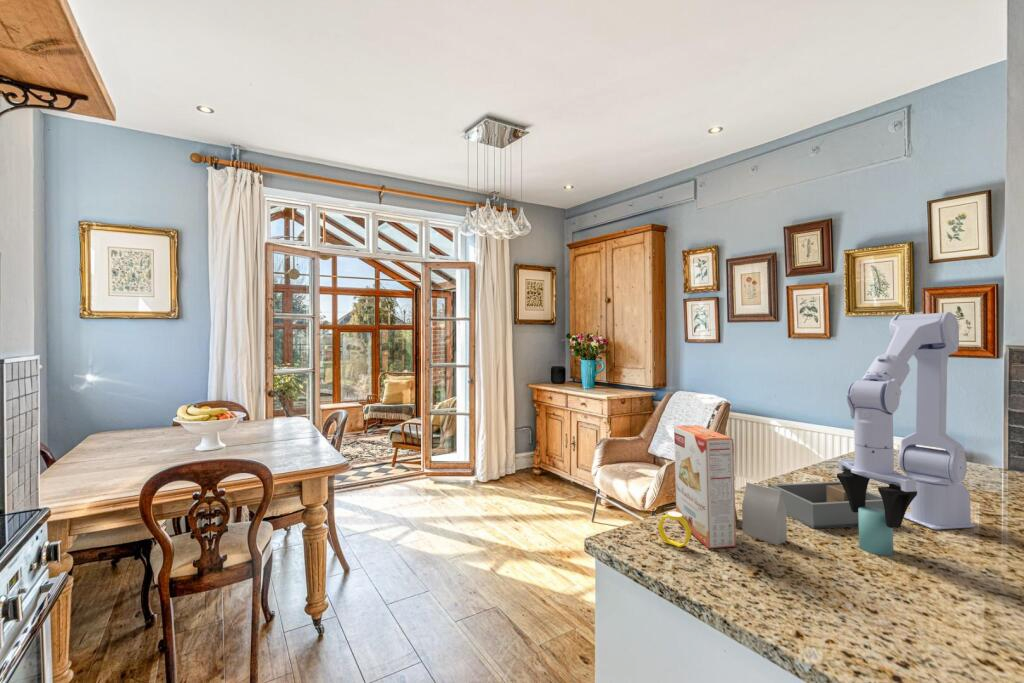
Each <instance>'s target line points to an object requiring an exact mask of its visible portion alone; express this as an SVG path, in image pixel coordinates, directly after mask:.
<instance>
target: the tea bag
mask: <svg viewBox="0 0 1024 683" xmlns="http://www.w3.org/2000/svg"><path fill="white" fill-rule="evenodd" d="M745 484H746V485H745V490H744V494H743V498H742V503H741V505H742V506H741V507H742V508H741V511H742V514H741V516H742V534H743V535H746V536H749V537H751V538H754V539H757V540H760V541H764V542H766V543H770V544H772V545H775V546H778V545H780V544H783V543H784V542H787V541H788V535H787V532H788V531H787V529H788V527H787V515H786V508H785V504H784V501H783V496H782V491H781V490H777V489H773V488H770V487H768V486H763V485H760V484H757V483H751V482H746V483H745Z"/></svg>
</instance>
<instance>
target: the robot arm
mask: <svg viewBox="0 0 1024 683" xmlns="http://www.w3.org/2000/svg"><path fill="white" fill-rule="evenodd" d="M888 326H889V327H888V333H889V336H890V338H891V340H890V343H889V344H888V346H887V349H886V351H885V353H883V354H879V355H878V356H876V357H875V358H874V359H873V361H872V362H871V363H870V365H869V367H868V369H866V371H865V373H864V375H863V377H862V378H861V379H858V380H855V382H851V383H850V384H849V386H848V389H847V395H846V401H847V404H848V407H849V410H850V418H851V419H852V420H853V426H854V429H853V430H854V431H853V432H854V433H853V435H854V436H853V437H854V438H853V439H854V460H851V459H838V464H837V466H838V467H837V468H838V470H839V471H842V472H837V473H836V479H838V481H840V482H841V484H842V486H843V488H844V490H845V492H846V495H847V498H848V501H849V504H850V507H851V510H852V512H854V513H855V512H858V508H860V507H865V502H866V491H867V490H868V485H869V482H870V480H873V481H877V482H879V483H883V484H885V485H888V486H877V491H878V492H879V494H880V495H879V496H881V497H882V500H883V504H884V509H885V521H886V525H887V527H889V528H893V529H897V528H899V529H900V528H901V527H902V523H903V520H904V519H907V520H908V521H912V522H914V523H916V524H919V525H921V526H924V527H927V528H929V529H932V530H935V531H937V530H952V529H967V528H968V529H969V528H976V524H974V523H972V522H971V521H972V517H971V515H972V514H971V494H970V491H969V489H968V488H967V486H966V485H965V484H964V483H963V482H962V481H964V480H965V478H966V476H967V475H966V474H967V469H968V466H967V464H968V463H967V458H966V456H965V455H966V454H965V448H964V446H963V445H962V444H961V443H960V442H959V441H957V440H955V439H954V437H951V436H950V435H949V434H947V405H948V404H947V398H948V396H947V395H948V391H947V390H948V387H947V386H948V361H949V356H950V355H952V354H955V353H957V352H958V351H959V346H960V345H959V344H960V323H959V321H958V319H957V317H956V315H955V314H953V313H952V312H951V311H945V312H935V313H934V312H933V313H932V312H931V313H918V314H917V313H915V314H912V313H911V314H895V315H894V316H893V317H892V318H891V319H890V322H889V325H888ZM913 356H914V358H915V359H916V382H915V384H916V386H915V387H916V389H915V390H916V393H915V395H916V396H915V398H916V399H915V432H913V433H911V434H909V435H906V436H905V437H902V439H901V442H900V448H899V450H898V455H897V463H898V467H899V469H900V470H901V472H902V473H904V474H905V475H904V474H902V473H900V472H898V471H895V462H894V460H895V459H894V458H895V454H894V453H895V452H894V450H895V448H894V413H895V412H896V411H897V410H898V408H899V407H900V406H899V405H900V398H901V395H902V389H901V387H902V385H903V384H904V382H905V380H906V378H907V377H908V375H909V374H910V370H911V369H910V368H911V367H910V365H909V363H908V362H909V361H910V359H911V358H912V357H913ZM908 508H909V512H907V510H908Z"/></svg>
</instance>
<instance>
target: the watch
mask: <svg viewBox="0 0 1024 683" xmlns="http://www.w3.org/2000/svg"><path fill="white" fill-rule="evenodd" d="M666 513H667V514H665V515H663V516H662V517H661V518H660V520H659V522H658V527H657V529H658V530H657V531H658V533H659V536H660V538H661V539H662V541H664V543H666V544H669V545H672V546H675V547H677V548H682V547H685V546H686V545H687V544H688V543H689V542H690V540H691V538H692V533H691V529H690V527H689V525H688V523H687V521H686V520H685V519H684V518H683V516H682V514H681V513H679V512H676V511H668V512H666ZM667 518H668V519H670V520H673V521H677V520H679V521H680V522H681V523H682V524H683V525H682V527H683V528H684V529H685V531H686V532H685V533H686V538H685V540H684V542H682V543H680V542H677V541H675V540H673V539H669V537H668V536H667V535H666V533H665V531H664V521H665V520H666V519H667Z"/></svg>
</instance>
